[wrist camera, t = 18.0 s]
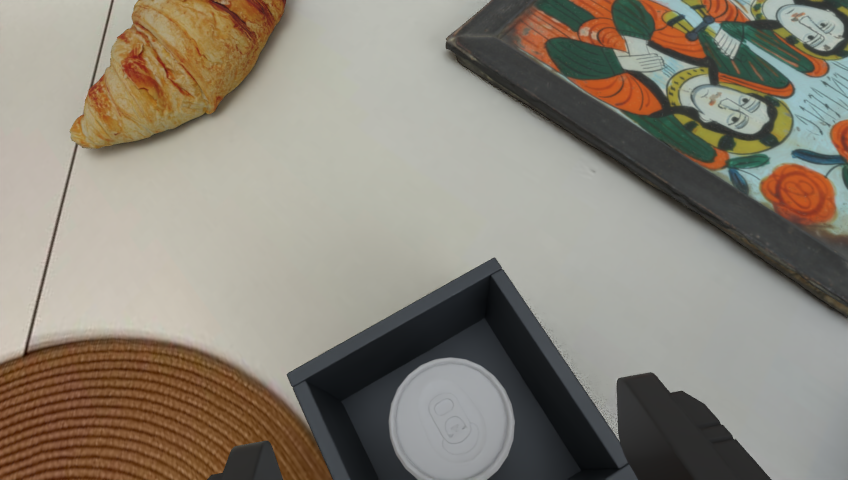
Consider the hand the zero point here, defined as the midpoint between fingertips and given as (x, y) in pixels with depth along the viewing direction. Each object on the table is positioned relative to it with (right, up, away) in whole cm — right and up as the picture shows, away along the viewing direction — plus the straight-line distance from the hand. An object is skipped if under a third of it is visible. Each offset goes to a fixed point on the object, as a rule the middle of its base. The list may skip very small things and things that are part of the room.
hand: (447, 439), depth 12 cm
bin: (+1, -7, +19) cm, 20 cm away
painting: (+23, +18, +29) cm, 41 cm away
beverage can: (+1, -7, +19) cm, 20 cm away
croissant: (-19, +18, +32) cm, 41 cm away
